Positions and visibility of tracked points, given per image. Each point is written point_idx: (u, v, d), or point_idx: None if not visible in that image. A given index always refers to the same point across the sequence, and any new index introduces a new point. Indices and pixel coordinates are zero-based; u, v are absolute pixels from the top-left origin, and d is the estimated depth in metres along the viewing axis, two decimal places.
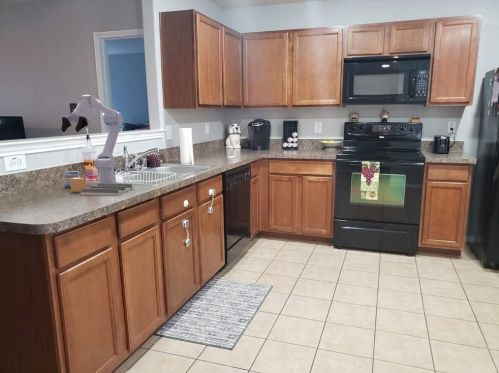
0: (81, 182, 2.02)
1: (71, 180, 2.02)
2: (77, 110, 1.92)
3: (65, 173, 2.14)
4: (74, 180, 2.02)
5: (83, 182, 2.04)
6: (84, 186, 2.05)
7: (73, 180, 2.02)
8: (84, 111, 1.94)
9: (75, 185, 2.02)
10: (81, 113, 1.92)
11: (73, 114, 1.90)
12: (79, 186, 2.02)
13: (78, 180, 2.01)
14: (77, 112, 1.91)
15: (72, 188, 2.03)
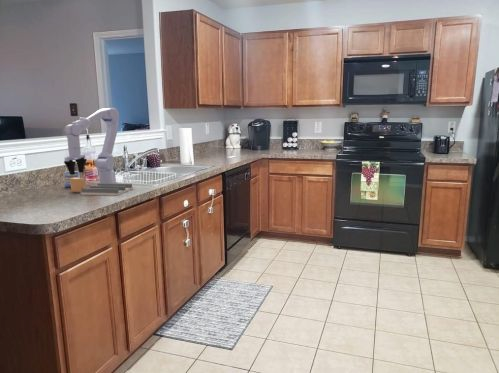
0: (81, 182, 2.02)
1: (71, 180, 2.02)
2: None
3: (65, 173, 2.14)
4: (74, 180, 2.02)
5: (83, 182, 2.04)
6: (84, 186, 2.05)
7: (73, 180, 2.02)
8: (69, 148, 1.98)
9: (75, 185, 2.02)
10: (69, 153, 1.99)
11: None
12: (79, 186, 2.02)
13: (78, 180, 2.01)
14: None
15: (72, 188, 2.03)
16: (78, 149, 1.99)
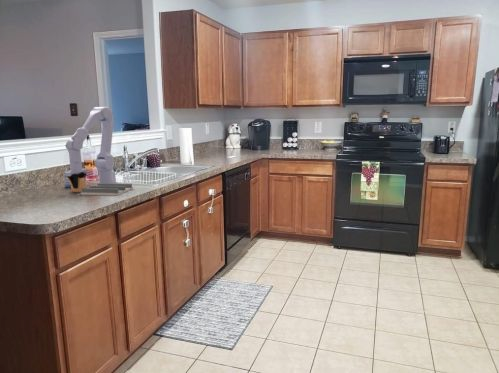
0: (81, 182, 2.02)
1: None
2: None
3: (65, 173, 2.14)
4: None
5: (83, 182, 2.04)
6: (84, 186, 2.05)
7: None
8: (71, 163, 1.99)
9: None
10: (70, 167, 2.00)
11: None
12: (79, 186, 2.02)
13: (78, 180, 2.01)
14: None
15: (72, 188, 2.03)
16: (79, 164, 2.01)
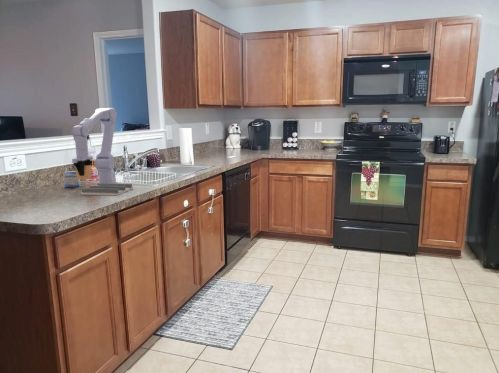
0: (87, 169, 1.99)
1: None
2: None
3: (65, 173, 2.14)
4: None
5: (89, 170, 2.00)
6: (90, 174, 2.01)
7: None
8: (77, 150, 1.96)
9: None
10: (76, 154, 1.97)
11: None
12: (85, 173, 1.99)
13: (84, 167, 1.98)
14: None
15: (78, 175, 2.00)
16: (86, 150, 1.98)
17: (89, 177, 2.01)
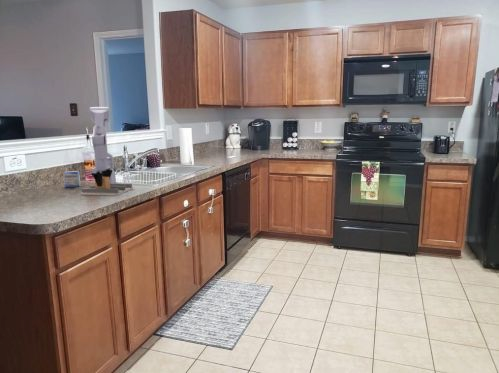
0: (106, 181, 1.95)
1: None
2: None
3: (65, 173, 2.14)
4: None
5: (108, 182, 1.97)
6: (109, 185, 1.98)
7: None
8: (96, 160, 1.92)
9: None
10: (96, 164, 1.93)
11: None
12: (104, 185, 1.95)
13: (103, 179, 1.95)
14: None
15: (96, 187, 1.96)
16: (105, 160, 1.94)
17: None
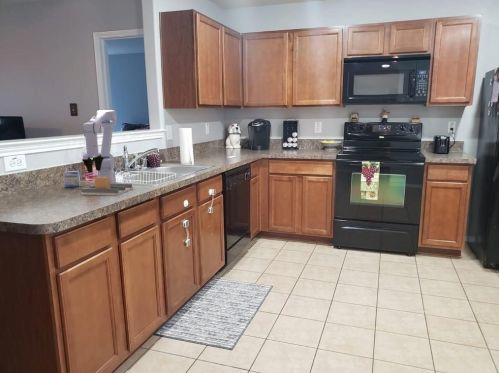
0: (106, 181, 1.95)
1: (95, 179, 1.95)
2: None
3: (65, 173, 2.14)
4: (99, 179, 1.95)
5: (108, 182, 1.97)
6: (109, 185, 1.98)
7: (98, 179, 1.95)
8: (87, 146, 1.98)
9: (99, 184, 1.95)
10: (87, 151, 1.99)
11: None
12: (104, 185, 1.95)
13: (103, 179, 1.95)
14: None
15: (96, 187, 1.96)
16: (96, 147, 2.00)
17: None
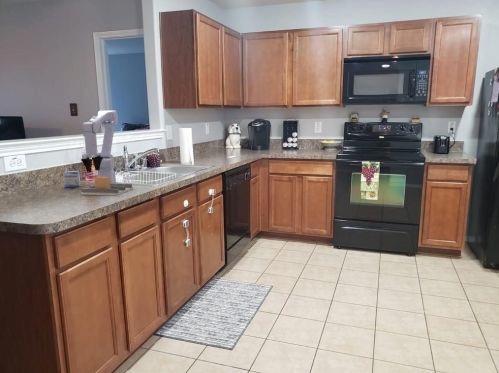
0: (106, 181, 1.95)
1: (95, 179, 1.95)
2: None
3: (65, 173, 2.14)
4: (99, 179, 1.95)
5: (108, 182, 1.97)
6: (109, 185, 1.98)
7: (98, 179, 1.95)
8: (86, 146, 1.99)
9: (99, 184, 1.95)
10: (86, 150, 2.00)
11: None
12: (104, 185, 1.95)
13: (103, 179, 1.95)
14: None
15: (96, 187, 1.96)
16: (95, 147, 2.00)
17: None
